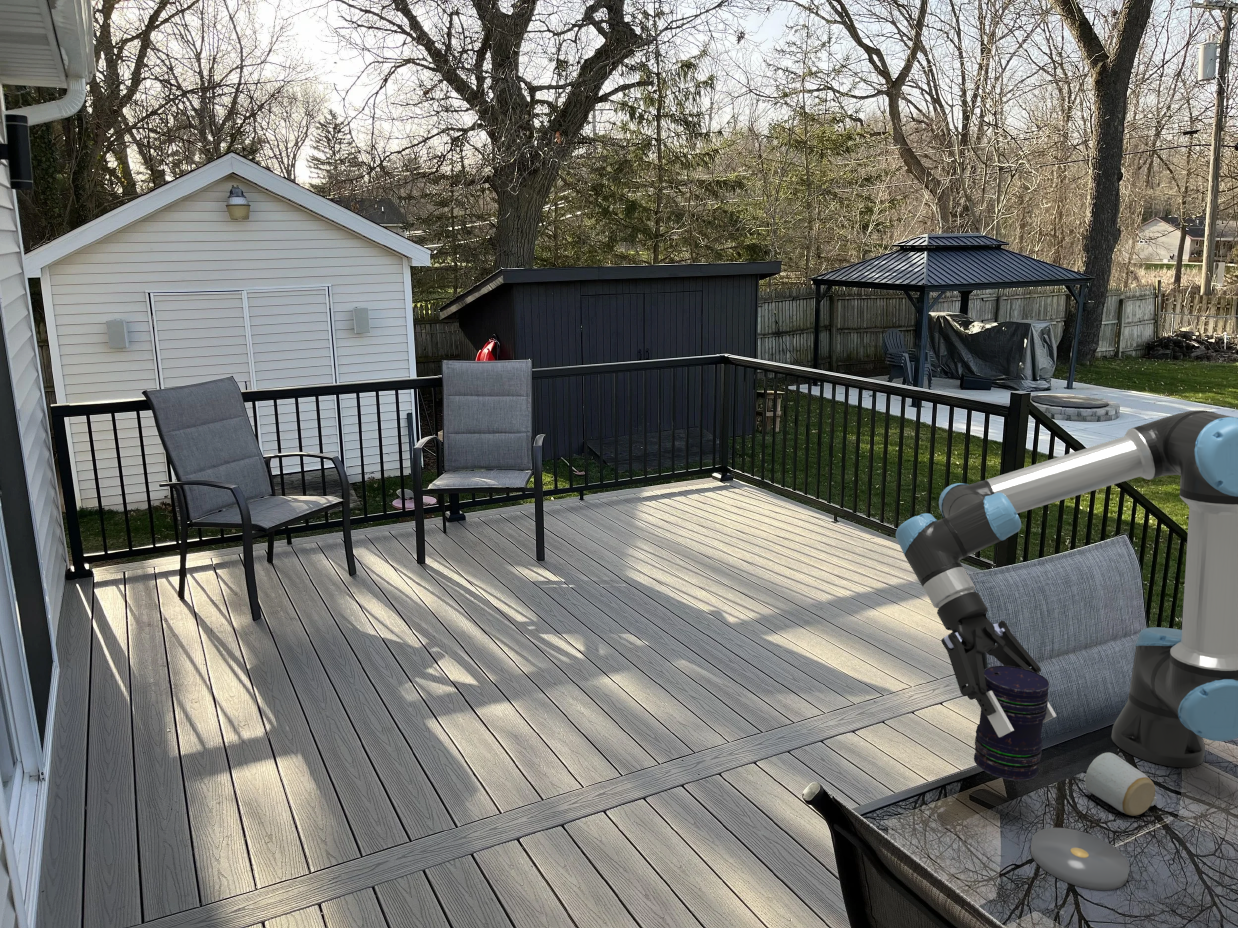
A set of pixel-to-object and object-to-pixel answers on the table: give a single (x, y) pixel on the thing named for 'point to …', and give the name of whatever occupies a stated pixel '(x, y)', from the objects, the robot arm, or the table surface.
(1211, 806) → the table surface
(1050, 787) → the table surface
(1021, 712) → the navy cylinder
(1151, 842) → the table surface
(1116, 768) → the ceramic mug
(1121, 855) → the grey flat round disc
